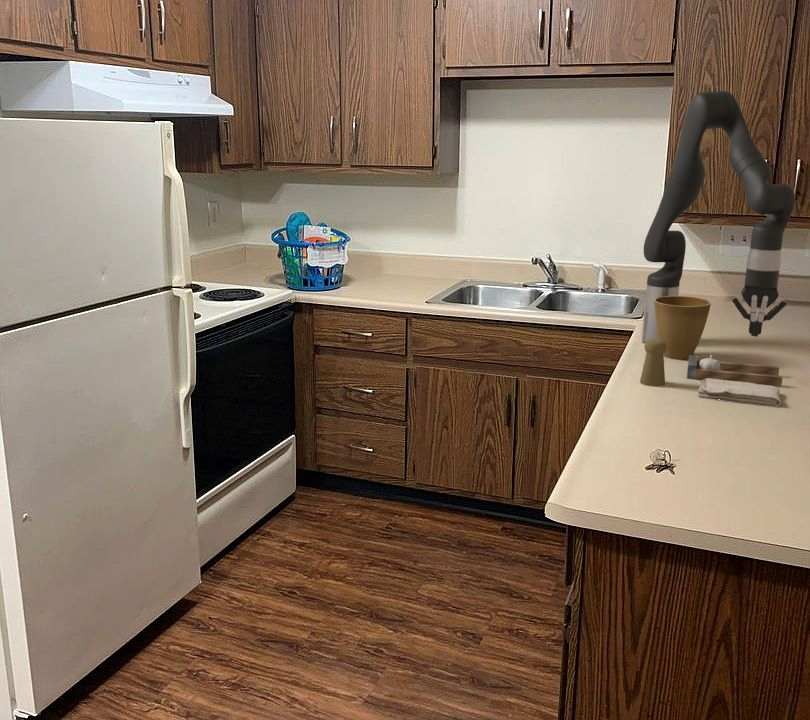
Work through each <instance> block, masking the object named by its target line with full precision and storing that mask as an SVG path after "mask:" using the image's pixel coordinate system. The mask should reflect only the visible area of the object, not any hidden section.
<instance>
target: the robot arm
mask: <svg viewBox="0 0 810 720" xmlns="http://www.w3.org/2000/svg"><path fill="white" fill-rule="evenodd" d="M683 122H684V123H683V126H682V131H681V136H680V141H679V144H678V147H677V150H676V155H675V157H674V161H673V163H672V166H671V170H670V172H669V174H668V178H667V181H666V184H665V187H664V191H663V194H662V197H661V200H660V202H659V205H658V208H657V211H656V213H655V216H654V218H653V220H652V223H651V225H650V227H649V229H648V231H647V234H646V236H645V239H644V243H643V257H644V258H645V260H646V261H647V262H649V263H664V265H663V266H662V267H661V268H660V269H659V270H656V271H654V272H652V273H649V274H648V276H647V278H646V279H647V280H646V288H645V289H646V290H645V292H646V293H645V305H644V312H643V320H642V321H643V322H642V333H641V343H644V344H645V343H646V341H647V340H650V339H659V335H658V330H657V324H656V317H655V305H654V299H656V298H658V297H664V296H680V295H679V292H680V283H681V279H682V276H683V269H684V264H685V263H684V262H685V258H686V257H685V256H686V247H687V242H686V237H685V234H684V233H683V232H682V231H681V230H670V228H671V227H672V225H673V223H675V221H676V220H677V219H678V218H680V216H681V215H683V214H684V213H685V212H686V211H687V210H688V209H689V208H690V207H692V205H693V204H694V203H695V201H696V200H697V198H698V197H699V195H700V192H701V190H702V187H703V184H704V181H705V178H706V168H705V164H704V160H703V158H702V154H701V144H702V141H703V138H704V134H705V132H706V131H707V130H710V129H722V130H723V131H724V132H725V133H726V134H727V137H728V138H729V140H730V145H729V161H730V165H731V167H732V168H733V171H734V172H735V174H736V175H737V176H738V178H739V180H740V181H741V183H742V187H743V191H744V194H745V198H746V203H747V205H748V207H749V208H750V210H751V211H753V212H754V213H756V214H758V215H767V216H766V218H765V220H764V221H762V222H760V223H758V224H756V225H755V226H753V228H752V231H751V238H750V247H749V252H748V256H747V260H746V261H747V262H746V269H745V270H746V271H745V278H744V285H743V288H742V290H741V293H740V294H737V296H733V297H732V298H731V299H732V303H733V305H734V307H736V309H737V310H738V311H739V313H740V314H741V316H742V317H743V318H744V319H747V321H749V324H748V332H749V334H750V336H751V337H759V335H761V334H762V328H763V323H764V322H766V321H771V320H772V319H773V318H774V317H775V316H777V314H778V313H779V312H781V310H783V309H784V308H785V307H786V306H787V302H786V300H784V299H783V298H781V296H780V295H779V294H780V293H779V290H778V285H779V279H780V278H779V277H780V270H781V264H782V263H781V262H782V245H783V240H784V232H785V230H786V228H787V226H788V223H789V222H790V218H791V216H792V213H793V211H794V208H795V205H796V195H795V192H794V189H793V188H792V187H791V186H790V185H789V184H785V183H773V184H772V183H771V184H769V183H767V182H768V181H769V180H770V179H771V177H772V169H771V167H770V165H769V164H768V162H767V160H766V159H765V157H764V156H763V154H762V153H761V151H760V150H759V148H758V147H757V145H756V144H755V142H754V140H753V137H752V135H751V132H750V130H749V127H748V124H747V123H746V120H745V118H744V115H743V113H742V111H741V108H740V105H739V103H738V101H737V99H736V98H735V96H734V95H733V94H732V93H731V92H729V91H726V90H725V91H724V90H720V91H719V90H717V91H716V90H715V91H701V92H698V93H695V95H693V97H692V98H691V99H690V102H689V104H688V106H687V111H686V115H685V117H684V121H683ZM743 300H744V301H745V303H746V304H747V305H748V307H750V308H749V309H750V312H749V313H748V311H747V310H746V309H745V307H744V305H743ZM773 303H774V306H773V307H772V308H771V309H770V311H768V312H767V313H766V309H768V308H769V307H770V306H771V305H773ZM757 308H758V313H757ZM765 313H766V314H765ZM659 340H660V339H659Z"/></svg>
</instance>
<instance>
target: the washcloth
mask: <svg viewBox="0 0 810 720" xmlns="http://www.w3.org/2000/svg"><path fill="white" fill-rule="evenodd" d="M697 393H698V397H700V398H703V399H708V400H714V399H715V401H721V400H723V402H729V401H730V402H732V403H737V402H738V403H740V404H747V405H754V406H755V405H756V406H765V407H779V406H780V405H781V404H782V401H781V398H780V394H781V392H780V388H779V387H775V386H770V385H759V384H754V383H748V382H737V381H727V380H719V379H711V378H707V379H706V378H705V380H700V384H699V387H698V391H697ZM718 399H720V400H718Z"/></svg>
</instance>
